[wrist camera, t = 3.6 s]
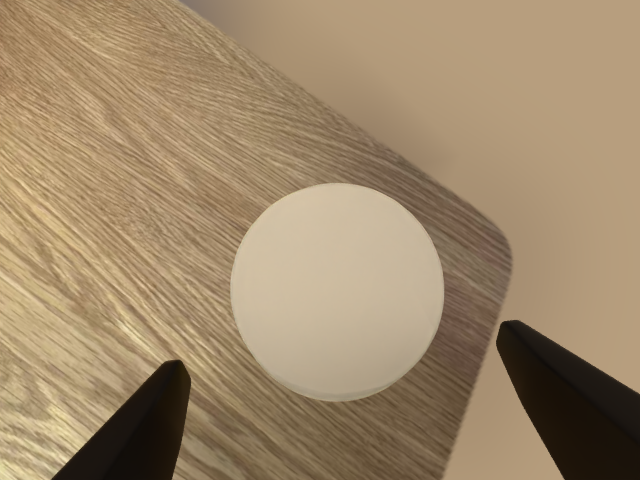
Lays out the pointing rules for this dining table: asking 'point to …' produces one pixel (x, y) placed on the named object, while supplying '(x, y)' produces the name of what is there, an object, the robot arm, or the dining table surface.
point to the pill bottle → (337, 291)
